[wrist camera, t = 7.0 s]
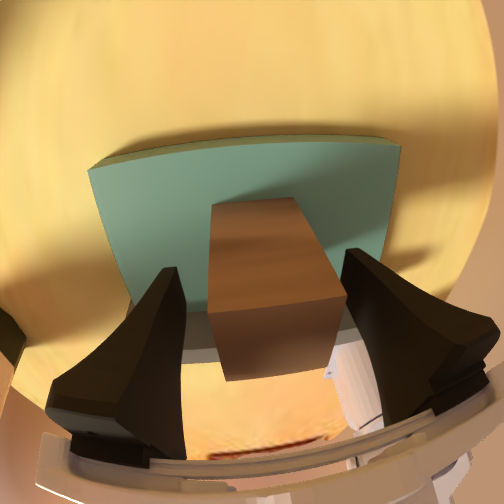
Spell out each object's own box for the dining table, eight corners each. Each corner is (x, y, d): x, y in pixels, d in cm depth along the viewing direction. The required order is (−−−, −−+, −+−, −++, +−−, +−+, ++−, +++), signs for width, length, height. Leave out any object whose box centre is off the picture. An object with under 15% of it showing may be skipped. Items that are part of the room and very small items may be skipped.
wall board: (368, 284, 20) (395, 331, 16) (138, 310, 19) (126, 364, 15) (395, 138, 14) (449, 165, 10) (87, 162, 13) (41, 199, 9)
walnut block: (291, 262, 16) (327, 366, 10) (221, 269, 15) (226, 381, 10) (293, 196, 13) (347, 294, 8) (211, 204, 13) (207, 313, 7)
